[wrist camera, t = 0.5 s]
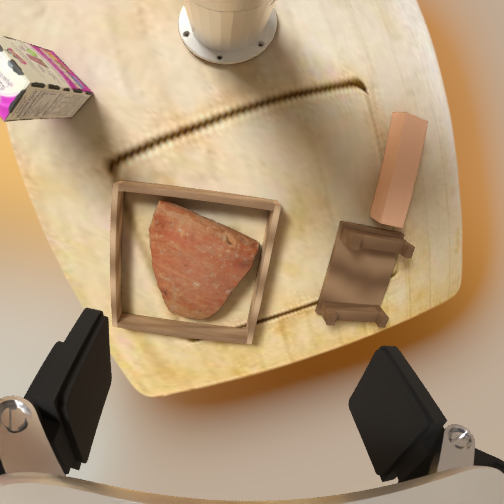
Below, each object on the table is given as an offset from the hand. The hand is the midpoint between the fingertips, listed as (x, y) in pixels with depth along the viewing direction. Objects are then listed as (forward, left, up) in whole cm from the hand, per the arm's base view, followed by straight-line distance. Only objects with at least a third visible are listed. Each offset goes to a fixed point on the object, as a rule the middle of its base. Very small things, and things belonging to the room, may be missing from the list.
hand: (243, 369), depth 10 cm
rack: (+10, +22, -34) cm, 42 cm away
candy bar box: (-12, -26, -34) cm, 44 cm away
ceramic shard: (+11, -4, -34) cm, 36 cm away
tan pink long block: (-7, +23, -34) cm, 42 cm away
